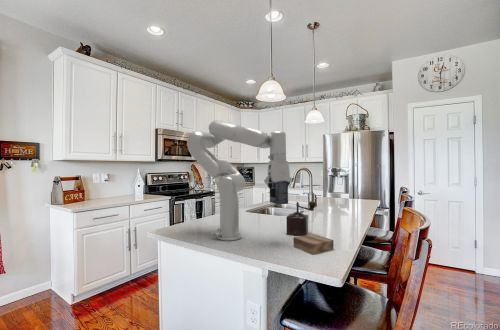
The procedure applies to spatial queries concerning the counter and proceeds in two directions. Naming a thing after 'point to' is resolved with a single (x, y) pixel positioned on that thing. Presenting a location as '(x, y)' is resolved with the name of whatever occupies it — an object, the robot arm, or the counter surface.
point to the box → (280, 193)
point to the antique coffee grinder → (299, 221)
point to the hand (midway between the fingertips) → (278, 196)
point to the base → (313, 243)
